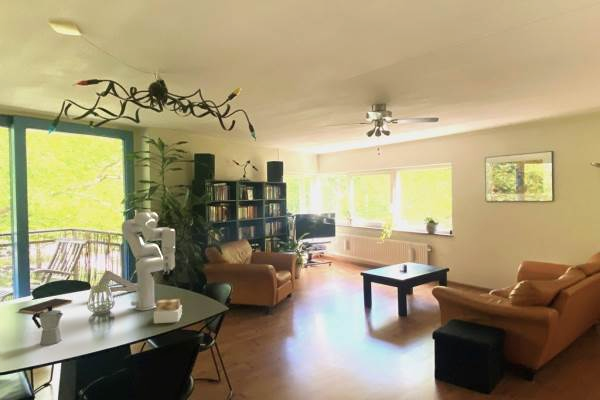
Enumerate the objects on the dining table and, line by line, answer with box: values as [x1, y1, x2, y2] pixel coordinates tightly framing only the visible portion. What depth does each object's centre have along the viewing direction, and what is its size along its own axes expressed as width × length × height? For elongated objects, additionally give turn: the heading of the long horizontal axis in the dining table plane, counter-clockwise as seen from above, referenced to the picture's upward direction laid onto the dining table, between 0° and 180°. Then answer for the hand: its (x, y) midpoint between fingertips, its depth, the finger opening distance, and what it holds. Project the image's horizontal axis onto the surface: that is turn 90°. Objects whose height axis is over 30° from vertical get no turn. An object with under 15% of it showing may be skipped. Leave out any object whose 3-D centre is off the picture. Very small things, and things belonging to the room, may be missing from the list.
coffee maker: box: [31, 305, 64, 347], centre depth 171 cm, size 15×9×18 cm, turn 92°
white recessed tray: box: [153, 304, 183, 324], centre depth 202 cm, size 13×12×6 cm
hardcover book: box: [18, 298, 73, 315], centre depth 226 cm, size 16×23×2 cm
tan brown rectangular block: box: [155, 298, 181, 311], centre depth 202 cm, size 12×5×8 cm, turn 98°
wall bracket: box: [96, 270, 138, 294], centre depth 250 cm, size 22×4×30 cm
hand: (168, 278), depth 206 cm, fingers open, 9 cm apart
